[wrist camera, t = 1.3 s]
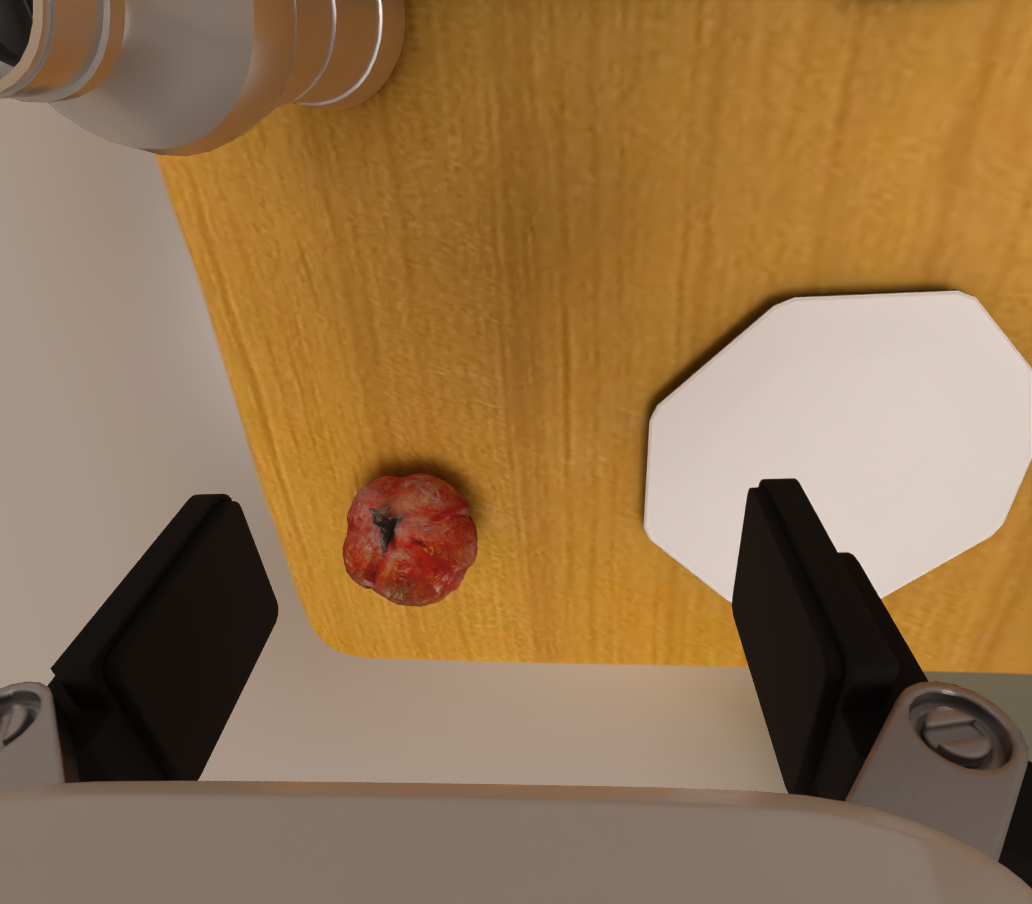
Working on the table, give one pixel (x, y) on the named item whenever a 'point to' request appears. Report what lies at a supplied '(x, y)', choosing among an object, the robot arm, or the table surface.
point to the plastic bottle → (194, 63)
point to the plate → (847, 432)
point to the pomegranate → (409, 539)
